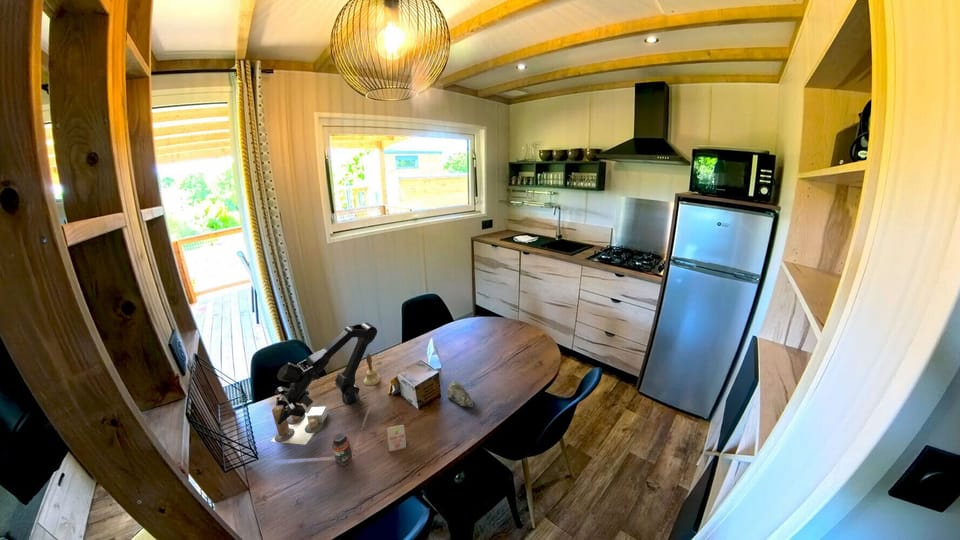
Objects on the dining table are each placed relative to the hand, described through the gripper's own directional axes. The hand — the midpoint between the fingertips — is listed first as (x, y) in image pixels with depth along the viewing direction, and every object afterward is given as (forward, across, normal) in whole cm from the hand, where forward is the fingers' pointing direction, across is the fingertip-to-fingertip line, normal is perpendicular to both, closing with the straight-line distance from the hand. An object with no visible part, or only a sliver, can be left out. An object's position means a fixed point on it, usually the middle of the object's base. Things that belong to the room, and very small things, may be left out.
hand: (276, 421), depth 131 cm
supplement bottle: (-3, -28, -16) cm, 32 cm away
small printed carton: (-15, -37, -28) cm, 49 cm away
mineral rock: (-39, -37, -52) cm, 75 cm away
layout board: (+1, 0, -12) cm, 12 cm away
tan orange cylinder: (+4, 0, -6) cm, 7 cm away
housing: (-4, -1, -16) cm, 17 cm away
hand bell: (-24, +7, -38) cm, 46 cm away
